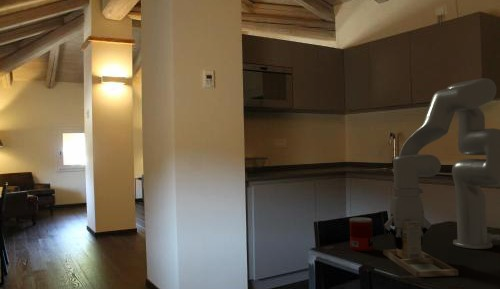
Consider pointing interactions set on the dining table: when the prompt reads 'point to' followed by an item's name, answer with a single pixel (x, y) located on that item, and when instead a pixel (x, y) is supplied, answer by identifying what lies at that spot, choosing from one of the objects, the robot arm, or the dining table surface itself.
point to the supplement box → (410, 240)
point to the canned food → (361, 234)
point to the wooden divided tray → (422, 265)
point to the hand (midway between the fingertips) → (408, 247)
